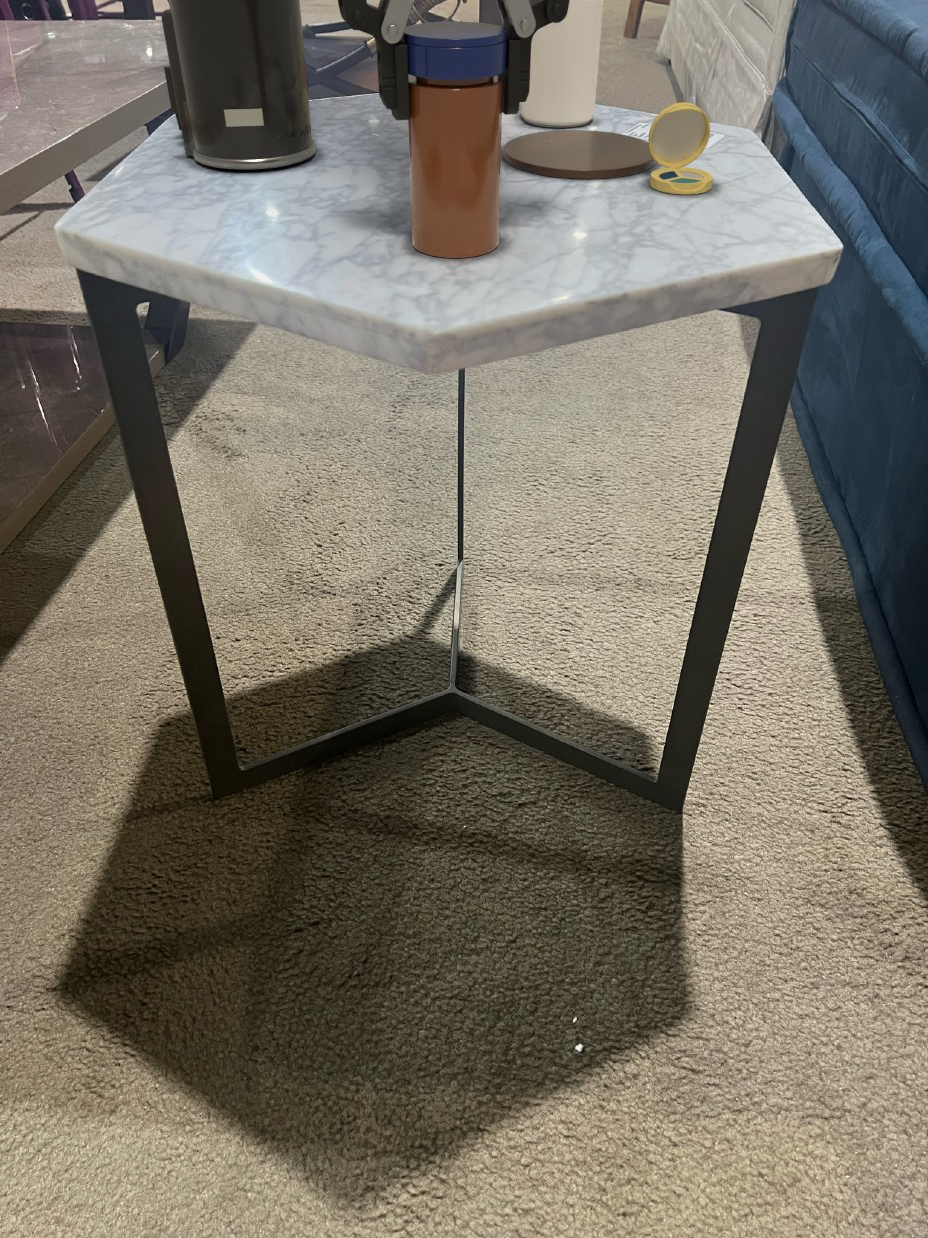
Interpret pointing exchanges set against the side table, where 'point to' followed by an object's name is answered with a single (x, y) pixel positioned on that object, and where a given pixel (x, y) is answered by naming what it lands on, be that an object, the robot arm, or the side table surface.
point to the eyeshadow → (679, 149)
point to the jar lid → (456, 50)
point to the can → (565, 68)
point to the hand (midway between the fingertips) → (455, 112)
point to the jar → (455, 165)
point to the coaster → (579, 154)
